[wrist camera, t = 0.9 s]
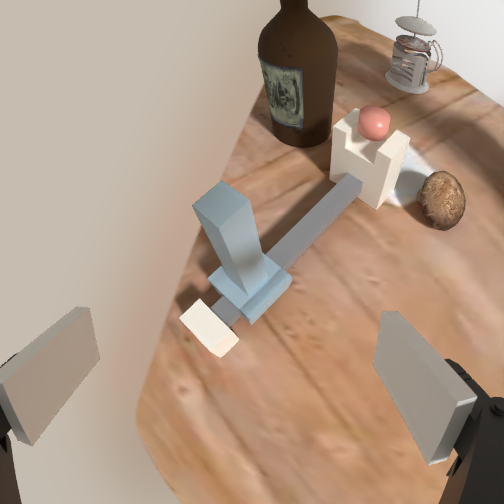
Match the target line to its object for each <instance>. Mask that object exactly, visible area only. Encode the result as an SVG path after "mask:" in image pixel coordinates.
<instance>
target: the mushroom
mask: <svg viewBox="0 0 504 504" xmlns="http://www.w3.org/2000/svg"><path fill="white" fill-rule="evenodd" d="M417 201H418V202H419V203H420V204H421V205H422V208H423V213H424V215H425V216H426V218H427V220H428V222H429V223H430V224H431V225H432V226H433V227H434V228H435V229H438V230H443V231H446V230H449V229H450V228H452V227H454V226H455V225H456V224H457V223H458V222H459V220H460V219H461V218H462V216H463V213H464V211H465V196H464V191H463V189H462V187H461V185H460V183H459V182H458V181H457V179H456V178H455V177H454V176H453V175H451V174H450V173H448V172H446V171H439V172H434V173H432V174H431V175H430V176H429V177H427V178H426V180H425V182H424V185H423V187H422V189H420V190H419V192H418V194H417Z"/></svg>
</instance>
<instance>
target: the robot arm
mask: <svg viewBox="0 0 504 504" xmlns="http://www.w3.org/2000/svg"><path fill="white" fill-rule="evenodd" d="M99 360H100V356H99V352H98V347H97V343H96V338H95V333H94V328H93V323H92V318H91V313H90V308H86V307H75V308H74V309H73V310H72V311H70V312H69V313H68V314H66V315H65V316H64V317H62V318H61V319H60V320H59V321H57V322H56V323H55V324H54V325H53V326H51V327H50V328H49V329H47V330H46V331H45V332H44V333H42V334H41V335H40V336H39V337H37V338H36V339H35V340H34V341H33V342H31V343H30V344H29V345H28V346H26V347H25V348H24V349H23V350H22V351H20V352H19V353H17V354H15V355H13V356H12V357H11V358H10V359H8V361H7V362H5V363H4V364H2V366H1V367H0V504H22V503H21V499H20V495H19V490H18V485H17V480H16V475H15V469H14V462H13V456H12V448H11V441H10V438H9V436H8V434H7V433H8V432H9V430H10V429H12V430H13V432H14V434H15V436H16V438H17V440H18V441H21V442H23V443H26V444H28V445H31V446H33V445H34V443H35V442H36V441H37V439H38V438H39V437H40V435H41V434H42V433H43V431H44V430H45V429H46V427H47V426H48V425H49V423H50V422H51V421H52V419H53V418H54V417H55V415H56V414H57V413H58V412H59V410H60V409H61V408H62V406H63V405H64V404H65V403H66V401H67V400H68V399H69V397H70V396H71V395H72V394H73V392H74V391H75V390H76V388H77V387H78V386H79V384H80V383H81V382H82V381H83V380H84V378H85V377H86V376H87V375H88V373H89V372H90V371H91V370H92V368H93V367H94V366H95V365H96V363H97V362H98V361H99ZM373 366H374V368H375V370H376V371H377V373H378V375H379V377H380V378H381V380H382V382H383V384H384V385H385V387H386V389H387V391H388V392H389V394H390V396H391V398H392V400H393V401H394V403H395V405H396V407H397V409H398V410H399V412H400V414H401V416H402V418H403V419H404V421H405V423H406V425H407V427H408V429H409V430H410V432H411V434H412V436H413V438H414V440H415V442H416V444H417V445H418V447H419V449H420V451H421V453H422V455H423V457H424V459H425V461H426V463H427V465H431V464H435V463H438V462H441V461H445V460H447V459H448V457H449V455H450V453H451V451H452V450H453V448H454V449H455V450H456V452H457V453H458V456H457V458H456V460H455V461H454V463H453V465H452V466H451V468H450V470H449V471H448V473H447V475H446V476H449V475H450V476H449V478H448V481H447V484H446V487H445V489H444V492H443V494H442V497H441V499H440V502H439V504H504V398H502V397H492V398H490V397H489V396H488V395H487V393H486V392H485V391H484V390H483V389H482V388H481V387H480V386H479V385H478V384H477V383H476V382H475V381H474V380H473V379H472V377H471V376H470V375H469V374H468V373H466V371H465V370H464V369H463V368H462V367H461V366H460V365H459V364H457V363H456V362H454V361H452V360H450V359H443V358H442V357H441V356H440V355H439V354H438V353H437V351H436V350H435V349H434V348H433V347H432V346H431V345H430V344H429V343H428V342H427V341H426V340H425V339H424V338H423V337H422V336H421V335H420V334H419V333H418V332H417V331H416V330H415V328H414V327H413V326H412V325H411V324H410V323H409V322H408V321H407V320H406V319H405V318H404V317H403V316H402V315H401V314H400V313H399V312H398V311H385V312H382V314H381V321H380V327H379V333H378V339H377V345H376V350H375V355H374V361H373Z"/></svg>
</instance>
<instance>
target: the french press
mask: <svg viewBox="0 0 504 504" xmlns="http://www.w3.org/2000/svg"><path fill="white" fill-rule="evenodd" d="M419 1H420V0H418V9H417V17H413V16H412V17H411V16H406V17H405V16H403V17H400V18H397V19H396V20H395V22H396V23H397V25H398V26H399V27H401V28H403V29H404V30H407V31H409V32H412V33H414V36H413V37H412V36H408V35H400V36H397V37H396V40H397V41H396V42H395V43H394V48H393V56H392V63H391V70H389V71H388V72H386V74H385V78H386V80H387V81H388V82H389V83H390V84H391V85H392V86H394V87H396V88H398V89H399V90H402V91H405V92H408V93H415V94H421V93H425V92H426V91H428V88H429V85H428V84H427V82H426V77H427V73H431V72H433V71H437V70H438V69H439V68H440V67H441V65H442V61H443V53H442V49H441V47H440V45H439V44H438V43H437V41H435V40H433V41H432V42H431V41H428V43H426V42H425V41H423V40H421V39H419V38H417V37H415V34H419V35H424V36H432V35H435V34H436V30H435V29H434V28H433V26H432V25H431V24H429V23H427V22H426V21H424V20H422V19H420V18H418V10H419ZM434 41H435V42H436V43H437V44H438V46H439V48H440V50H441V54H442V60H441V64H440V66H439V67H438V68H437V69H436V67H437V65H438V60H439V57H437V58H438V59H437V64H436V67H435V68H434V69H433V70H428V68H429V63H430V58H431V53H430V50H431V47H430V46H432V45H433V46H434V48H435V50H436V53H437V56H438V52H437V49H436V47H435V45H434V44H433V43H434ZM429 42H431V44H432V45H429ZM404 49H407V50H412V51H418V52H426V53H427V54H428V56H429V59H428V58H427V56H426V55H424V54H422V53H408V52H405V51H404ZM414 56H422V57H424V58H418V57H414ZM403 59H405V60H409V61H411V62H413V63H410V62H406V61H403ZM426 60H427V61H428V64H427V63H426ZM402 64H406V65H407V66H409V67H405V66H402ZM413 65H415V66H413ZM425 65H426V66H427V68H425ZM435 69H436V70H435ZM424 70H425V71H424ZM428 71H430V72H428Z"/></svg>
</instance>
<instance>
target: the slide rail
mask: <svg viewBox="0 0 504 504" xmlns="http://www.w3.org/2000/svg"><path fill="white" fill-rule="evenodd" d="M359 113H360V110H359V109H356V108H355V109H353V110H352V111H351V112H350V113H348V114H347V115H346V116H345V117H344V118H342V119H341V120H340V121H339V122H337V123H336V124H335V125H334V126H333V137H332V153H331V166H330V180H331V181H333V182H334V183H336V185H335V186H334V187H333V188H332V189H331V190H330V191H329V192H328V193H327V194H326V195H325V196H324V197H323V198H322V199H321V200H320V201H319V202H318V203H317V204H316V205H315V206H314V207H313V208H312V209H311V210H310V211H309V212H308V213H307V214H306V215H305V216H304V217H303V218H302V219H301V220H300V221H299V222H298V223H297V224H296V225H295V226H294V227H293V228H292V229H291V230H290V231H289V232H288V233H287V234H286V235H285V236H284V237H283V238H282V239H281V240H280V241H279V242H278V243H277V244H276V245H274V246H273V247H272V248H271V249H270V250H269V251H268V252H267V253H266V254H265V255H266V256H267V257H269V258H270V259H271V260H272V261H273V262H275V263H276V264H277V265H278V266H280V267H281V268H282V269H283V270H284V271H287V270H288V269H289V268H290V267H291V266H292V265H293V264H294V263H295V261H296V260H297V259H298V258H299V257H300V256H301V255H302V254H303V253H304V252H305V251H306V250H307V249H308V248H309V247H310V246H311V245H312V244H313V243H314V242H315V241H316V240H317V239H318V237H319V236H320V235H321V234H322V233H323V232H324V231H325V230H326V229H327V228H328V227H329V226H330V225H331V224H332V223H333V222H334V221H335V219H336V218H337V217H338V216H339V215H340V214H341V213H342V212H343V211H344V210H345V209H346V208H347V207H348V206H349V204H350V203H351V202H352V201H353V200H354V199H355V198H356V197H357V198H359V199H360V200H362V201H363V202H365V203H366V204H368V205H369V206H370V207H372V208H373V209H375V210H377V209H378V208H379V206H380V205H381V204H382V203H383V202H384V200H385V199H386V198H387V197H388V196H389V194H390V193H391V192H392V191H393V190H394V188H395V185H396V182H397V179H398V176H399V173H400V170H401V166H402V163H403V160H404V157H405V154H406V150H407V147H408V144H409V140H410V137H408V136H407V135H405V134H403V133H401V132H400V131H398V130H396V131H395V132H394V133H393V135H392V136H391V137H390V138H389V139H388V140H385V139H384V140H382V141H377V142H376V141H370V140H367V139H365V138H363V137H362V136H361V135H360V134H359V133H358V121H359ZM241 316H242V313H241V312H240V311H239V310H238V309H237V308H236V307H235V306H234V305H233V304H231V303H230V302H229V301H228V300H227V299H226V298H225V297H224V296H222V297H221V298H220V299H219V300H218V301H217V302H216V303H215V304H214V305H213V306H212V307H211V308H210V309H209V308H208V307H207V306H206V305H205V303H204V302H203V301H202V300H201V299H200V298H199V299H198V300H197V301H196V302H195V303H194V304H193V305H192V306H191V307H190V308H189V309H188V310H187V311H186V312H185V313H184V314H183V315H182V316H181V317H180V319H181V321H182V322H183V323H184V324H185V325H186V326H187V327H188V328H189V329H190V330H191V331H192V333H193V334H194V335H195V336H196V337H197V338H198V339H199V340H200V341H201V342H202V343H203V344H204V345H205V346H206V347H207V348H208V350H209V351H210V352H212V353H213V354H215V355H217V356H218V357H220V358H221V357H222V356H223V355H224V354H225V353H226V352H228V351H229V350H230V349H231V348H232V347H233V346H234V345H235V344H236V343H237V342H238V341H239V340H240V339H239V338H238V337H237V336H236V335H235V334H234V333H233V331H232V330H231V329H230V327H231V326H232V325H233V324H234V323H235V322H236V321H237V320H238V319H239V318H240V317H241Z"/></svg>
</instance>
